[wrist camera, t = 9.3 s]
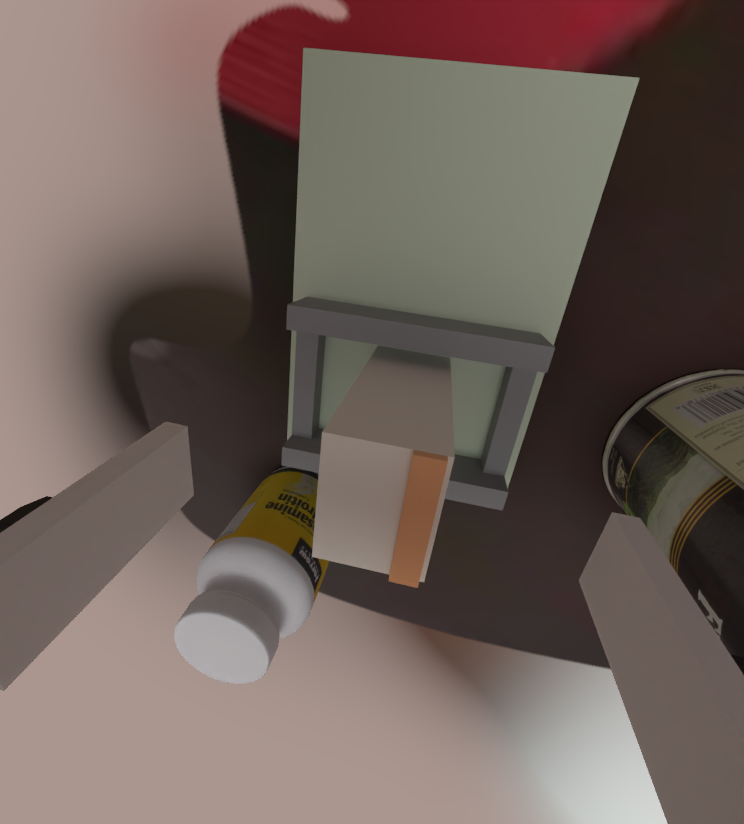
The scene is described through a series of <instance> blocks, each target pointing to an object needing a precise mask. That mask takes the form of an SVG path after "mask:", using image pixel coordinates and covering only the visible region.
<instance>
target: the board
mask: <svg viewBox="0 0 744 824" xmlns="http://www.w3.org/2000/svg"><path fill="white" fill-rule="evenodd" d="M638 81H639V78H635V77H624V76H613V75H602V74H591V73H579V72H568V71H557V70H546V69H535V68H524V67H513V66H502V65H491V64H480V63H469V62H457V61H446V60H435V59H424V58H413V57H402V56H391V55H380V54H369V53H358V52H347V51H335V50H324V49H313V48H303V68H302V92H301V116H300V141H299V165H298V189H297V213H296V237H295V261H294V285H293V302H292V303H290V304H287V326H286V330H292V334H291V358H290V382H289V406H288V430H287V442H286V443H285V444H284V445H283V447H282V466H287V467H292V468H297V469H302V470H307V471H312V472H317V473H319V463H320V451H321V439H322V431H323V430H324V428H325V427H326V425H327V424H328V422H329V420H330V419H331V417H332V416H333V414H334V413H335V411H336V410H337V408H338V407H339V405H340V404H341V402H342V400H343V399H344V397H345V396H346V394H347V393H348V391H349V390H350V388H351V387H352V385H353V383H354V382H355V380H356V379H357V377H358V376H359V374H360V373H361V371H362V370H363V368H364V367H365V365H366V363H367V362H368V360H369V359H370V357H371V356H372V354H373V353H374V351H375V350H376V348H377V346H384V347H390V348H396V349H402V350H408V351H414V352H420V353H426V354H432V355H438V356H444V357H450V361H451V384H452V408H453V431H454V454H455V458H454V462H453V466H452V470H451V474H450V479H449V483H448V487H447V491H446V495H445V499H448V500H453V501H458V502H463V503H468V504H473V505H478V506H483V507H487V508H492V509H497V510H503V507H504V504H505V501H506V498H507V495H508V486H509V482H510V479H511V476H512V473H513V470H514V467H515V464H516V461H517V458H518V454H519V451H520V448H521V445H522V442H523V439H524V436H525V433H526V430H527V426H528V423H529V420H530V417H531V414H532V411H533V408H534V405H535V402H536V398H537V395H538V392H539V389H540V386H541V383H542V380H543V377H544V374H545V373H547V372H548V369H549V366H550V362H551V359H552V356H553V353H554V350H555V347H554V343H555V339H556V336H557V333H558V330H559V327H560V324H561V321H562V318H563V315H564V311H565V308H566V305H567V302H568V299H569V296H570V293H571V290H572V287H573V283H574V280H575V277H576V274H577V271H578V268H579V265H580V262H581V259H582V255H583V252H584V249H585V246H586V243H587V240H588V237H589V234H590V231H591V227H592V224H593V221H594V218H595V215H596V212H597V209H598V206H599V203H600V200H601V196H602V193H603V190H604V187H605V184H606V181H607V178H608V175H609V172H610V168H611V165H612V162H613V159H614V156H615V153H616V150H617V147H618V144H619V140H620V137H621V134H622V131H623V128H624V125H625V122H626V119H627V116H628V112H629V109H630V106H631V103H632V100H633V97H634V94H635V91H636V88H637V85H638Z"/></svg>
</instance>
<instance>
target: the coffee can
mask: <svg viewBox="0 0 744 824" xmlns="http://www.w3.org/2000/svg"><path fill="white" fill-rule="evenodd" d="M602 466H603V476H604V480H605V483H606V485H607V488H608V490H609V492H610V494H611V495H612V497H613V498H614V500H615V501H616V502H617V503H618V504H619V506H620V507H621V508H622V509H623V511H624V512H625V513H626V515H628V516H633V517H638V518H640V519H641V520H642V522H643V523H644V525H645V526H646V528H647V529H648V531H649V532H650V534H651V535H652V537H653V538H654V540H655V541H656V543H657V544H658V546H659V547H660V549H661V550H662V552H663V553H664V555H665V556H666V558H667V559H668V561H669V563H670V564H671V566H672V567H673V569H674V570H675V572H676V573H677V575H678V576H679V578H680V579H681V581H682V582H683V584H684V585H685V587H686V588H687V590H688V591H689V593H690V594H691V596H692V597H693V599H694V600H695V602H696V603H697V605H698V606H699V608H700V610H701V611H702V613H703V614H704V616H705V617H706V619H707V620H708V622H709V623H710V625H711V626H712V628H713V629H714V631H715V632H716V634H717V635H718V637H719V638H720V640H721V641H722V643H723V644H724V646H725V647H726V649H727V650H728V652H729V653H730V654H732V655H736V656H741V657H744V370H725V369H719V370H712V371H706V372H700V373H695V374H691V375H688V376H684V377H681V378H678V379H676V380H673V381H671V382H668V383H666V384H664V385H662V386H660V387H658V388H656V389H655V390H653V391H651V392H650V393H648V394H647V395H646V396H644V397H642V398H641V399H639V400H638V401H637V402H636V403H635V404H634V405H633V406H632V407H631V408H630V409H629V410H628V411H627V412H625V414H624V415H623V416H622V417H621V418H620V420H619V421H618V422H617V424H616V425H615V427H614V428H613V430H612V432H611V434H610V436H609V438H608V440H607V443H606V446H605V449H604V454H603V460H602Z"/></svg>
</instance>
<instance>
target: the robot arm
mask: <svg viewBox="0 0 744 824" xmlns="http://www.w3.org/2000/svg"><path fill="white" fill-rule="evenodd" d="M193 495H194V491H193V481H192V470H191V459H190V449H189V438H188V427H187V426H184V425H179V424H174V423H169V422H164V423H163V424H161V425H160V426H158V427H157V428H156V429H154V430H153V431H151V432H150V433H148V434H147V435H145V436H144V437H142V438H141V439H139V440H138V441H136V442H135V443H133V444H132V445H130V446H129V447H127V448H126V449H124V450H123V451H121V452H120V453H118V454H117V455H115V456H114V457H112V458H111V459H109V460H108V461H106V462H105V463H104V464H102V465H101V466H99V467H98V468H96V469H95V470H93V471H92V472H90V473H89V474H87V475H86V476H84V477H83V478H81V479H80V480H78V481H77V482H75V483H74V484H72V485H71V486H69V487H68V488H67V489H65V490H63V491H62V492H60V493H59V494H57V495H56V496H54V497H53V498H52V497H48V496H46V497H44V498H41V499H39V500H37V501H34V502H32V503H29V504H27V505H24V506H22V507H20V508H18V509H17V510H15V511H14V512H12V513H11V514H9V515H8V516H6V517H4V518H3V519H1V520H0V690H3V691H4V690H5V689H6V688H7V687H8V686H9V685H10V684H11V683H12V682H13V681H14V680H15V679H16V678H17V677H18V676H19V675H20V674H21V673H22V672H23V671H24V670H25V668H27V666H28V665H29V664H30V663H31V662H32V661H33V660H34V659H35V658H36V657H37V656H38V655H39V654H40V653H41V652H42V651H43V650H44V649H45V648H46V647H47V646H48V645H49V644H50V643H51V642H52V641H53V640H54V639H55V638H56V637H57V636H58V634H59V633H60V632H61V631H62V630H63V629H64V628H65V627H66V626H67V625H68V624H69V623H70V622H71V621H72V620H73V619H74V618H75V617H76V616H77V615H78V614H79V613H80V612H81V611H82V610H83V609H84V608H85V607H86V605H88V604H89V603H90V601H91V600H92V599H93V598H94V597H95V596H96V595H97V594H98V593H99V592H100V591H101V590H102V589H103V588H104V587H105V586H106V585H107V584H108V583H109V582H110V581H111V580H112V579H113V578H114V577H115V576H116V575H117V574H118V573H119V572H120V571H121V569H122V568H123V567H124V566H125V565H126V564H127V563H128V562H129V561H130V560H131V559H132V558H133V557H134V556H135V555H136V554H137V553H138V552H139V551H140V550H141V549H142V548H143V547H144V546H145V545H146V544H147V543H148V542H149V541H150V539H152V537H153V536H154V535H155V534H156V533H157V532H158V531H159V530H160V529H161V528H162V527H163V526H164V525H165V524H166V523H167V522H168V521H169V520H170V519H171V518H172V517H173V516H174V515H175V514H176V513H177V512H178V511H179V510H180V509H181V508H182V507H183V505H184V504H185V503H186V502H187V501H188V500H189V499H190V498H191V497H192V496H193ZM579 583H580V585H581V588H582V591H583V594H584V596H585V599H586V602H587V605H588V607H589V610H590V613H591V615H592V618H593V621H594V624H595V626H596V629H597V632H598V635H599V637H600V640H601V643H602V645H603V648H604V651H605V654H606V656H607V659H608V662H609V665H610V667H611V670H612V673H613V675H614V678H615V681H616V684H617V686H618V689H619V691H620V694H621V697H622V700H623V703H624V706H625V708H626V711H627V714H628V716H629V719H630V722H631V725H632V727H633V730H634V733H635V735H636V738H637V741H638V744H639V746H640V749H641V752H642V755H643V757H644V760H645V763H646V766H647V768H648V771H649V774H650V776H651V779H652V782H653V785H654V787H655V790H656V793H657V796H658V798H659V800H660V803H661V806H662V809H663V812H664V814H665V817H666V820H667V823H668V824H744V657H741V656H736V655H732V654H730V653H729V652H728V650H727V649H726V647H725V646H724V644H723V643H722V641H721V640H720V638H719V637H718V635H717V634H716V632H715V631H714V629H713V628H712V626H711V625H710V623H709V622H708V620H707V619H706V617H705V616H704V614H703V613H702V611H701V610H700V608H699V606H698V605H697V603H696V602H695V600H694V599H693V597H692V596H691V594H690V593H689V591H688V590H687V588H686V587H685V585H684V584H683V582H682V581H681V579H680V578H679V576H678V575H677V573H676V572H675V570H674V569H673V567H672V566H671V564H670V563H669V561H668V559H667V558H666V556H665V555H664V553H663V552H662V550H661V549H660V547H659V546H658V544H657V543H656V541H655V540H654V538H653V537H652V535H651V534H650V532H649V531H648V529H647V528H646V526H645V525H644V523H643V522H642V520H641V519H640V518H638V517H633V516H628V515H623V514H618V513H613V512H612V513H611V515H610V517H609V520H608V522H607V524H606V526H605V528H604V530H603V532H602V534H601V536H600V538H599V540H598V542H597V544H596V546H595V548H594V550H593V552H592V554H591V556H590V558H589V560H588V562H587V565H586V567H585V569H584V571H583V573H582V575H581V577H580V579H579Z"/></svg>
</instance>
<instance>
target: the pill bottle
mask: <svg viewBox="0 0 744 824" xmlns="http://www.w3.org/2000/svg"><path fill="white" fill-rule="evenodd" d="M318 475H319V473H317V472H312V471H307V470H302V469H297V468H292V467H283V468H280V469H277V470H275V471H274V472H272V473H271V474H269V475H268V476H267V477H266V478H265V479H264V480H263V481H262V483H261V484H260V485H259V486H258V488H257V489H256V490H255V491H254V493H253V494H252V495H251V497H250V498H249V499H248V500H247V502H246V503H245V504H244V505H243V507H242V508H241V509H240V511H239V512H238V513H237V514H236V516H235V517H234V518H233V519H232V521H231V522H230V523H229V525H228V526H227V527H226V528H225V530H224V531H223V532H222V534H221V535H220V536H219V537H218V539H217V540H216V541H215V542H214V544H213V545H212V546H211V547H210V549H209V550H208V552H207V553H206V554H205V556H204V557H203V559H202V561H201V563H200V565H199V568H198V571H197V578H196V584H197V590H198V594H199V595H198V596H197V597H196V598H195V599H194V600H193V601H192V602H191V603H190V605H189V606H188V608H187V609H186V611H185V612H184V614H183V615H182V617H181V618H180V619H179V621H178V623H177V625H176V627H175V630H174V639H175V644H176V646H177V648H178V650H179V652H180V654H181V655H182V656H183V658H184V659H185V660H186V661H187V662H188V663H189V664H190V665H192V666H193V667H194V668H195V669H197V670H198V671H200V672H202V673H203V674H205V675H207V676H209V677H211V678H213V679H216V680H218V681H223V682H227V683H237V684H238V683H239V684H242V683H250V682H253V681H256V680H258V679H259V678H260V677H262V676H263V675H264V674H265V673H266V671H267V669H268V668H269V665H270V663H271V661H272V659H273V656H274V654H275V652H276V650H277V647H278V643H279V639H281V638H284V637H286V636H288V635H290V634H292V633H293V632H295V631H296V630H297V629H298V628H299V627H301V626H302V624H303V623H304V622H305V620H306V619H307V617H308V616H309V614H310V611H311V609H312V606H313V603H314V601H315V598H316V596H317V593H318V590H319V588H320V585H321V582H322V580H323V577H324V574H325V572H326V569H327V566H328V564H329V561H328V560H324V559H319V558H315V557H312V548H313V536H314V524H315V512H316V499H317V487H318Z"/></svg>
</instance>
